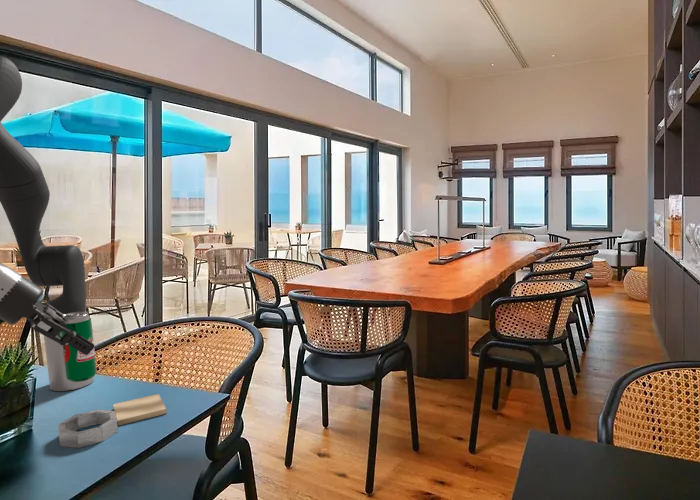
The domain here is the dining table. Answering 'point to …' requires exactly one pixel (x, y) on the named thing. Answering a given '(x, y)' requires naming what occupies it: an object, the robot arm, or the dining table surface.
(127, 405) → the board
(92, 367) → the soda can
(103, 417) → the ring
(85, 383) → the robot arm
